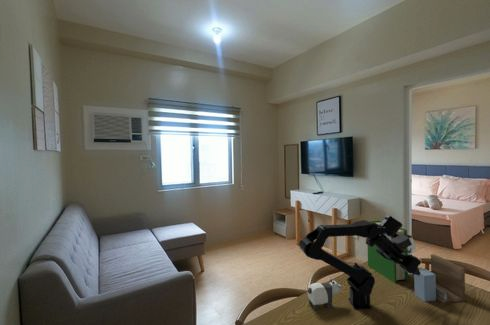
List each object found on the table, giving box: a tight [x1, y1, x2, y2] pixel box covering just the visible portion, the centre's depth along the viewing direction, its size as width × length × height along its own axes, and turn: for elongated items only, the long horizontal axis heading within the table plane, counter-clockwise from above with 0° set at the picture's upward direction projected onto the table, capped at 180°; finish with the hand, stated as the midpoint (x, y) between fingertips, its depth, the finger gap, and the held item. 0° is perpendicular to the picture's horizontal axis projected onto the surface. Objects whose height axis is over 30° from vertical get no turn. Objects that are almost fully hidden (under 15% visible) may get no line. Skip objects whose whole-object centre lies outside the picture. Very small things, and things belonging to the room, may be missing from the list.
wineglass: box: [407, 234, 416, 276], centre depth 122 cm, size 8×8×18 cm
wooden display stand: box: [430, 254, 466, 304], centre depth 104 cm, size 10×14×13 cm
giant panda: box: [307, 278, 343, 311], centre depth 98 cm, size 15×6×10 cm, turn 101°
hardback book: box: [367, 219, 409, 284], centre depth 121 cm, size 18×7×24 cm, turn 12°
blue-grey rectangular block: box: [413, 268, 437, 303], centre depth 100 cm, size 5×5×10 cm
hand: (410, 269), depth 100 cm, fingers open, 9 cm apart
